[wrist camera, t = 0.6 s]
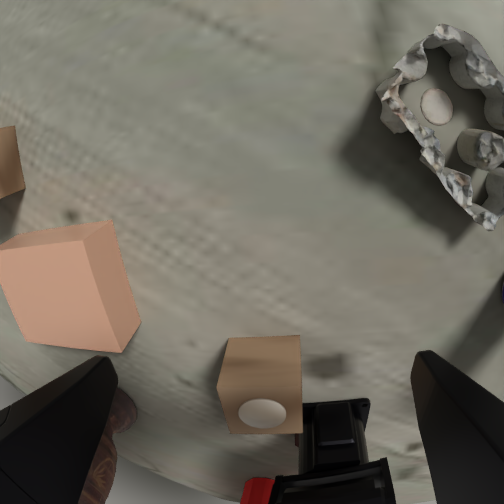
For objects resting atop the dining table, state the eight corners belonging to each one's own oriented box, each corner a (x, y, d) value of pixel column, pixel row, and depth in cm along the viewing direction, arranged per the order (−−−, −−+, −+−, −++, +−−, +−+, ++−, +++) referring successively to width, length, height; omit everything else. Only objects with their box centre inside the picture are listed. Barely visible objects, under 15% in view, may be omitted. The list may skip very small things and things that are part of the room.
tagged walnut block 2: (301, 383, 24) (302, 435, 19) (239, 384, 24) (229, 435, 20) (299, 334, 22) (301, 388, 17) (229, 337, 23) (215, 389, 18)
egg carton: (354, 100, 16) (372, 95, 12) (429, 24, 13) (460, 7, 9) (462, 226, 18) (494, 250, 14) (524, 153, 15) (561, 164, 11)
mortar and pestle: (51, 392, 29) (-27, 518, 11) (41, 341, 26) (-69, 487, 7) (140, 433, 30) (81, 585, 11) (145, 389, 26) (62, 582, 8)
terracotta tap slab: (142, 319, 23) (121, 352, 19) (50, 316, 24) (26, 341, 21) (114, 218, 20) (82, 240, 16) (20, 232, 21) (-11, 251, 18)
